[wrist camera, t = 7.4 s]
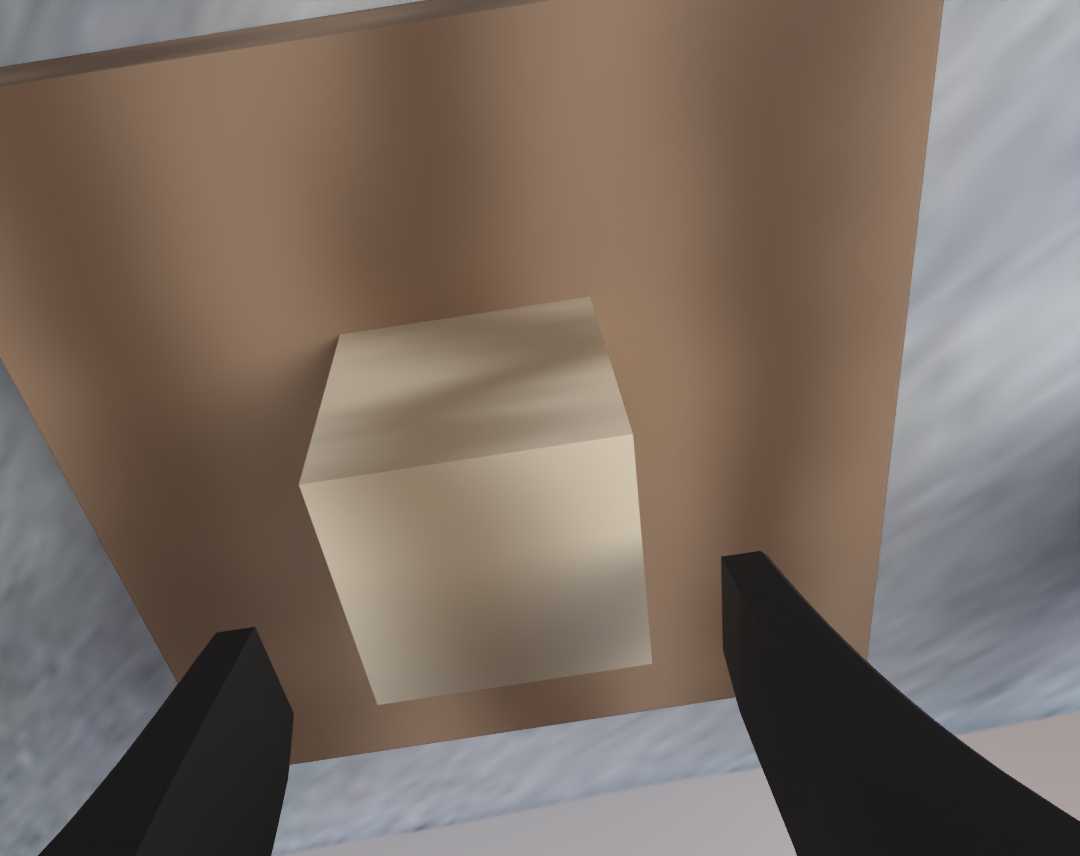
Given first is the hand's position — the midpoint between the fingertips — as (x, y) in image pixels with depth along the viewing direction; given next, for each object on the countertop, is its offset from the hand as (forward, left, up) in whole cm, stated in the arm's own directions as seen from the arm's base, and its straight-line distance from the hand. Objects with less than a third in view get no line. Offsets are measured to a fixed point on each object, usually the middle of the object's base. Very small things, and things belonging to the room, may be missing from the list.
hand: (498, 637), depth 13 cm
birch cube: (0, 0, -6) cm, 6 cm away
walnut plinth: (0, +1, -9) cm, 9 cm away
